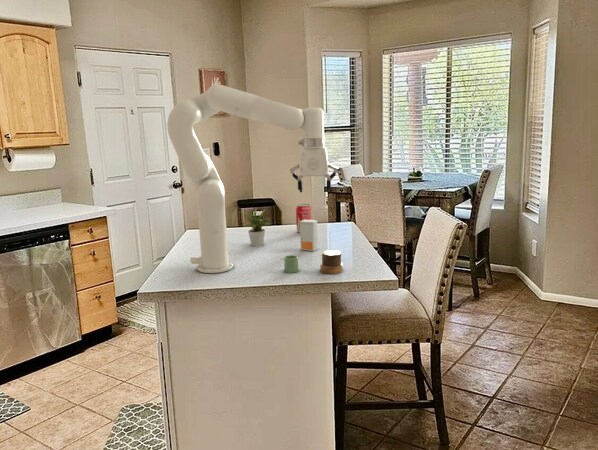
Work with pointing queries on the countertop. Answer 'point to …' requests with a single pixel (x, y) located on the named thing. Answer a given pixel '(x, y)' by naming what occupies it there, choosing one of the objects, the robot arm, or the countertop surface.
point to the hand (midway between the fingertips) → (314, 191)
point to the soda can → (302, 214)
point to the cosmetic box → (308, 235)
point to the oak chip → (331, 269)
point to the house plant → (257, 228)
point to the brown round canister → (331, 258)
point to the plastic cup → (291, 264)
